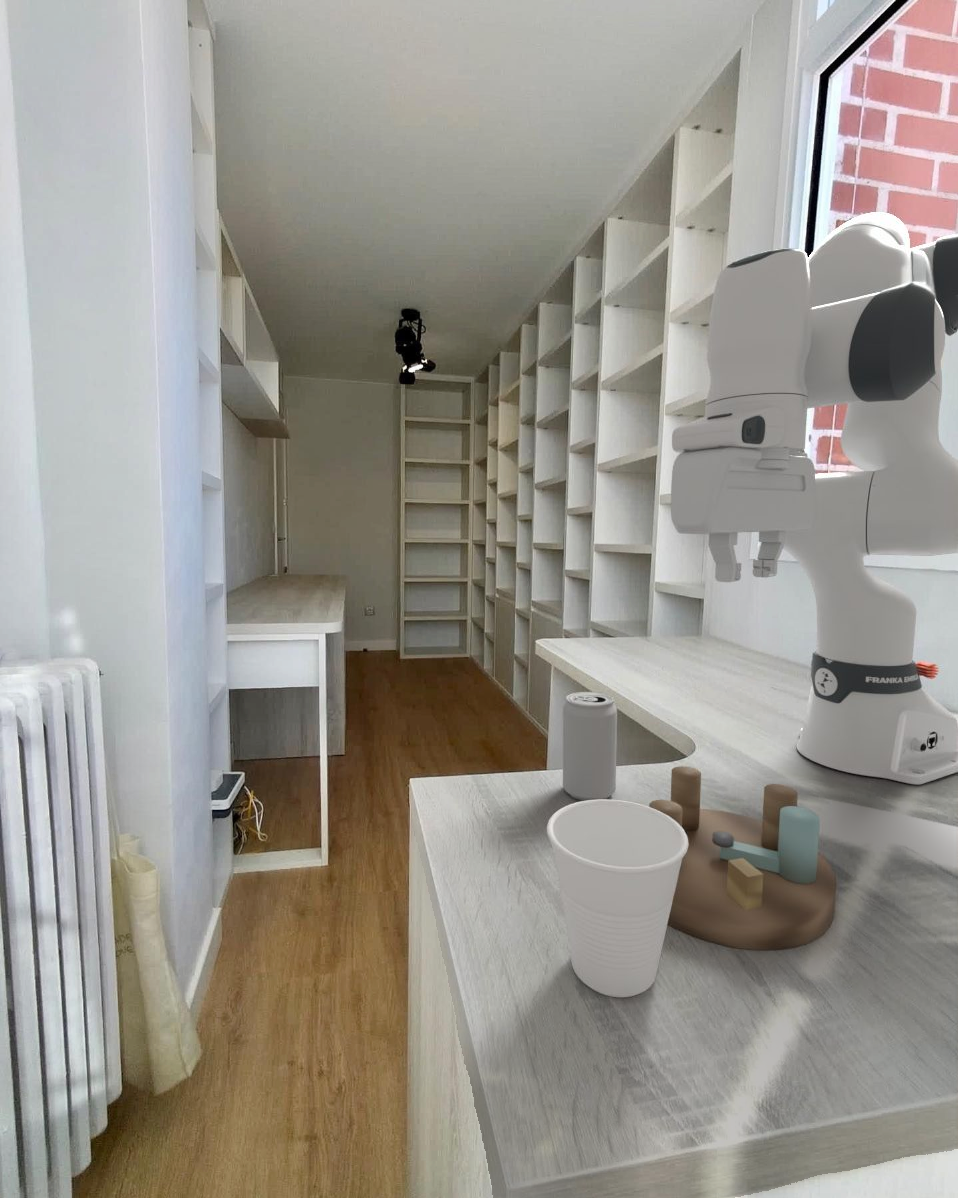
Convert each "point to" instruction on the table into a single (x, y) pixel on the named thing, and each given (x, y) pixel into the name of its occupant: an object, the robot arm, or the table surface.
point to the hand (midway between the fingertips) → (746, 579)
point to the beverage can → (589, 745)
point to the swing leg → (781, 846)
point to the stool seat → (741, 876)
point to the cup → (616, 889)
